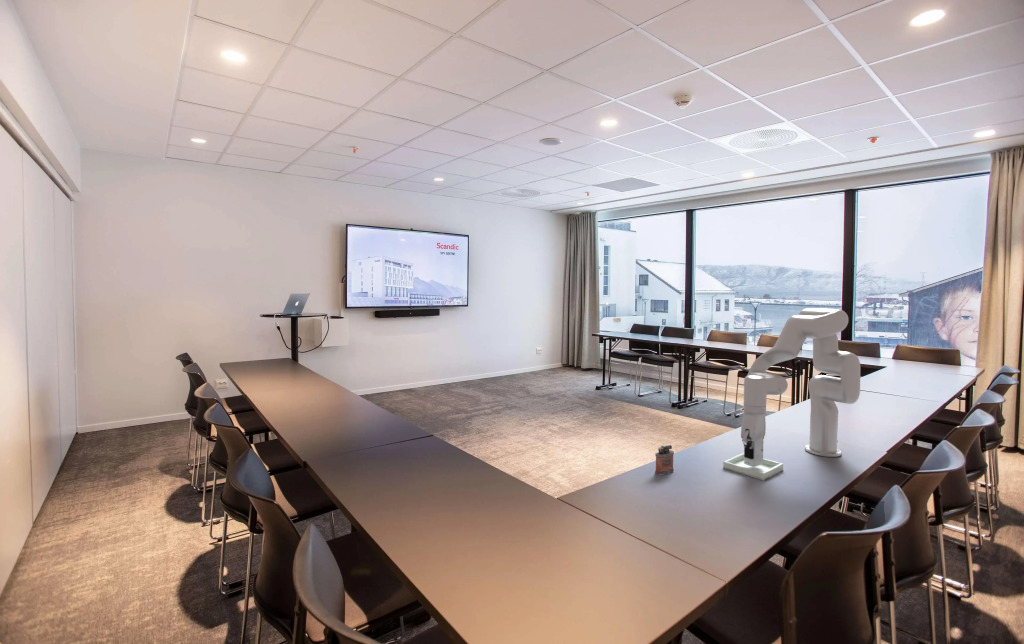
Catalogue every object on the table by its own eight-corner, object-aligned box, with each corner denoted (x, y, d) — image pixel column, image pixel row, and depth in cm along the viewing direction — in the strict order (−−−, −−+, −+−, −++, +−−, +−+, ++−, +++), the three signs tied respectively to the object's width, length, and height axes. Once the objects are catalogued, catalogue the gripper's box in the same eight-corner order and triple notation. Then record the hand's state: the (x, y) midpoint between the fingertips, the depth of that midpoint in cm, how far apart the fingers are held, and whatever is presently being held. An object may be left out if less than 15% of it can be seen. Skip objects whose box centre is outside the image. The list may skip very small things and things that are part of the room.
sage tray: (743, 458, 190) (743, 452, 189) (783, 470, 178) (783, 463, 178) (723, 468, 181) (723, 461, 180) (763, 480, 169) (764, 473, 169)
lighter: (659, 476, 174) (660, 449, 173) (653, 472, 177) (653, 446, 176) (675, 471, 178) (676, 445, 177) (669, 468, 181) (669, 442, 180)
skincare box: (754, 467, 176) (755, 435, 175) (742, 463, 179) (743, 432, 178) (763, 463, 179) (764, 432, 178) (752, 460, 183) (753, 429, 182)
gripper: (755, 403, 186) (754, 448, 187) (732, 410, 175) (731, 458, 177) (776, 407, 180) (774, 453, 181) (753, 415, 169) (752, 464, 171)
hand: (753, 455), depth 179 cm, fingers closed on skincare box, 6 cm apart
